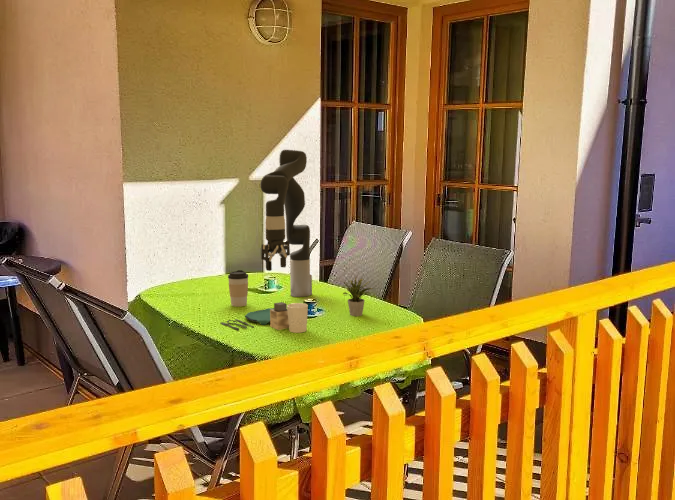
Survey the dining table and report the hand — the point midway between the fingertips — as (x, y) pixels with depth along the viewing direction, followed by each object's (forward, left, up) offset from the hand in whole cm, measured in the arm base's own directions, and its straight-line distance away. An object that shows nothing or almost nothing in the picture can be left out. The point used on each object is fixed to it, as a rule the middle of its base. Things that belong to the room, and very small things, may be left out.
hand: (276, 268), depth 272 cm
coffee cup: (-4, -41, -23) cm, 47 cm away
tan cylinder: (-4, +10, -23) cm, 26 cm away
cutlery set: (+2, -12, -24) cm, 27 cm away
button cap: (-1, +2, -16) cm, 16 cm away
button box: (-1, +2, -23) cm, 23 cm away
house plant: (-35, +4, -23) cm, 42 cm away
